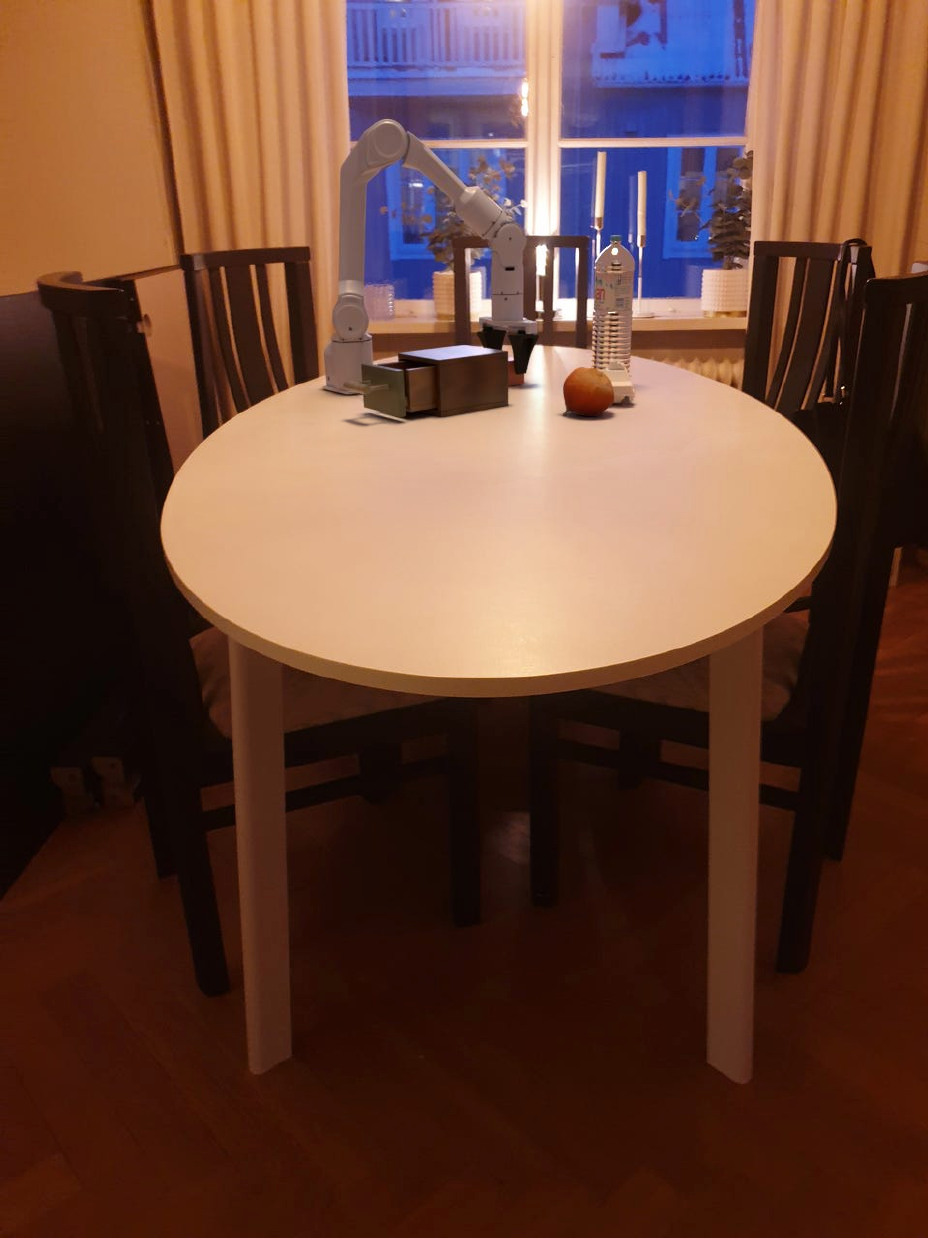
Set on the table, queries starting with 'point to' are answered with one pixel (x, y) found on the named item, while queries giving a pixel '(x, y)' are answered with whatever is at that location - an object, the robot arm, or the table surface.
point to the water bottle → (613, 306)
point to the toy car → (620, 381)
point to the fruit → (587, 392)
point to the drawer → (397, 387)
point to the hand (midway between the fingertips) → (507, 371)
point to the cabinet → (466, 377)
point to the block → (513, 374)
